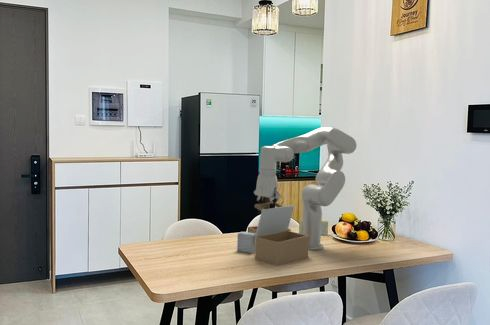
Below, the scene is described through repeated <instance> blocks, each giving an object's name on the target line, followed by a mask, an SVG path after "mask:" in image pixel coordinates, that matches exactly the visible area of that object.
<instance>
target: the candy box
mask: <svg viewBox="0 0 490 325" xmlns="http://www.w3.org/2000/svg"><path fill="white" fill-rule="evenodd" d="M298 222H299V223H298V233H300V234H302V219H299V221H298ZM328 232H329V221H328V220H321V236H322V235H324V237H325V236H328Z"/></svg>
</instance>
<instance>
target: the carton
mask: <svg viewBox="0 0 490 325" xmlns="http://www.w3.org/2000/svg"><path fill="white" fill-rule="evenodd" d="M309 251H310V250H309V236H308V235H304V234H300V233H299V232H295V231H292V230H290V231H283V232H278V233H273V234H268V235H263V236H258V237H256V251H255V258H254V259H255V260H258V261H261V262H265V263H267V264H270V265H274V266H277V267H278V266H281V265H285V264H289V263H293V262H295V261H299V260H303V259H306V258H308V257H309Z"/></svg>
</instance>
